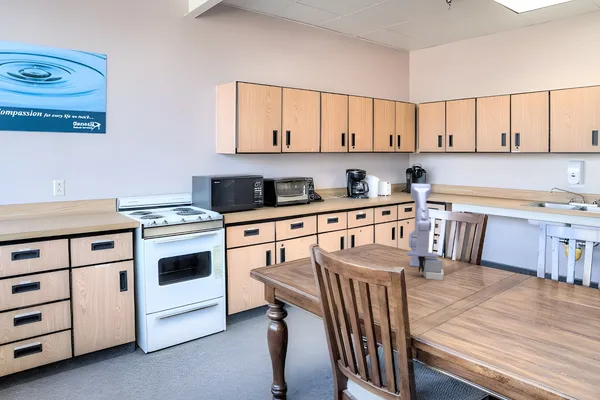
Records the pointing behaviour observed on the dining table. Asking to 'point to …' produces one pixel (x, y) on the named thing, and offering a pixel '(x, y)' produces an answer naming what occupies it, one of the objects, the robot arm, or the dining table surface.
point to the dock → (435, 275)
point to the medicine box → (432, 265)
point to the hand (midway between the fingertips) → (421, 271)
